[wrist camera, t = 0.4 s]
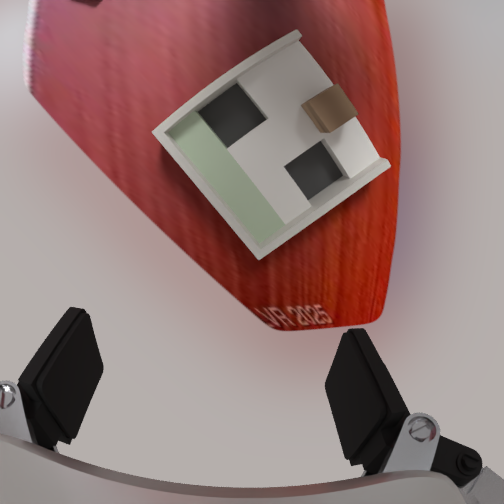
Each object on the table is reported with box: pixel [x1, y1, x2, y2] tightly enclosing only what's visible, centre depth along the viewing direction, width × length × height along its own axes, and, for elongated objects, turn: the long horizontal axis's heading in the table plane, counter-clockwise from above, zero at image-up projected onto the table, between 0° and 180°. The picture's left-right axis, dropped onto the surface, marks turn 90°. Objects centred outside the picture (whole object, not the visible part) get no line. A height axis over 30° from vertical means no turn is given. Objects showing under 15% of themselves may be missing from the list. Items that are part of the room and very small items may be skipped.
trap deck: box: [152, 29, 391, 260], centre depth 32 cm, size 20×20×5 cm
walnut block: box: [301, 83, 358, 133], centre depth 28 cm, size 4×4×4 cm
